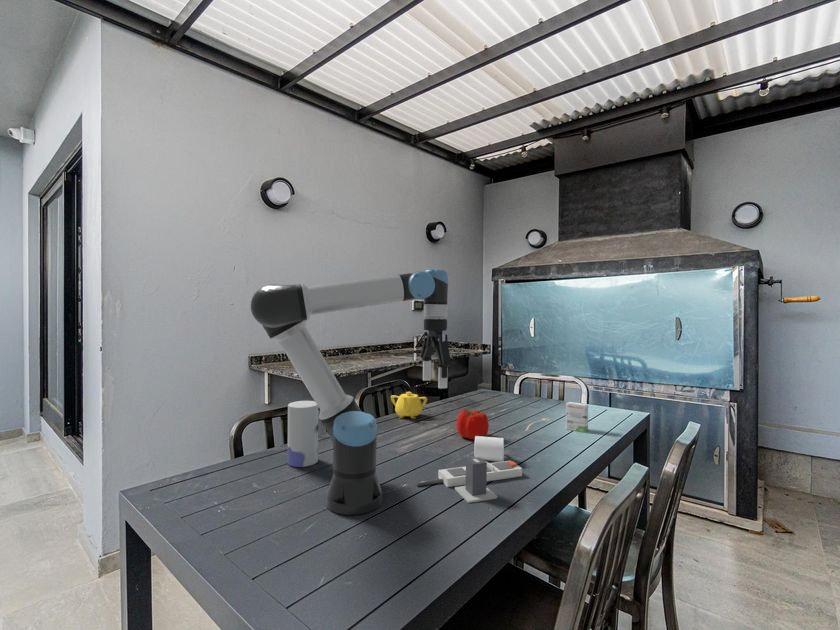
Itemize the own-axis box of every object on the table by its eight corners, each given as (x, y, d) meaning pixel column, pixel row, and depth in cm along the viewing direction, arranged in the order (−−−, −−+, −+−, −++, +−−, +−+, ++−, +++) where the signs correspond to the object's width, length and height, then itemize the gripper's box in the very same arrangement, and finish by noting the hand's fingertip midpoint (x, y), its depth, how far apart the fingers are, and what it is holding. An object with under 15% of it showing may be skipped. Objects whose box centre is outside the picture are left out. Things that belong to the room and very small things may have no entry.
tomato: (495, 438, 171) (495, 413, 170) (470, 444, 163) (471, 417, 163) (473, 430, 182) (473, 406, 181) (449, 435, 174) (449, 410, 174)
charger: (472, 496, 118) (472, 464, 117) (465, 489, 122) (465, 458, 121) (486, 493, 119) (486, 462, 119) (478, 487, 123) (479, 456, 123)
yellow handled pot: (387, 415, 203) (387, 391, 203) (411, 411, 212) (411, 388, 212) (403, 422, 192) (404, 396, 192) (428, 417, 201) (428, 393, 201)
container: (323, 461, 143) (324, 403, 142) (297, 470, 135) (298, 408, 135) (307, 454, 150) (308, 398, 149) (281, 461, 142) (282, 403, 142)
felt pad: (468, 503, 115) (468, 500, 115) (454, 489, 123) (454, 487, 123) (497, 498, 118) (497, 496, 118) (481, 485, 126) (481, 483, 126)
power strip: (420, 491, 121) (420, 478, 121) (412, 481, 128) (412, 469, 128) (522, 476, 133) (522, 464, 133) (510, 467, 140) (510, 457, 140)
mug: (503, 465, 142) (503, 442, 142) (474, 462, 144) (474, 440, 144) (503, 453, 154) (504, 431, 154) (476, 451, 156) (476, 429, 156)
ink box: (588, 430, 184) (588, 403, 184) (585, 433, 180) (586, 405, 180) (568, 426, 189) (568, 401, 189) (565, 429, 185) (565, 403, 185)
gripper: (463, 319, 124) (461, 391, 124) (432, 316, 147) (431, 376, 147) (439, 319, 121) (438, 392, 121) (411, 316, 144) (410, 377, 145)
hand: (434, 384), depth 134 cm, fingers open, 13 cm apart
